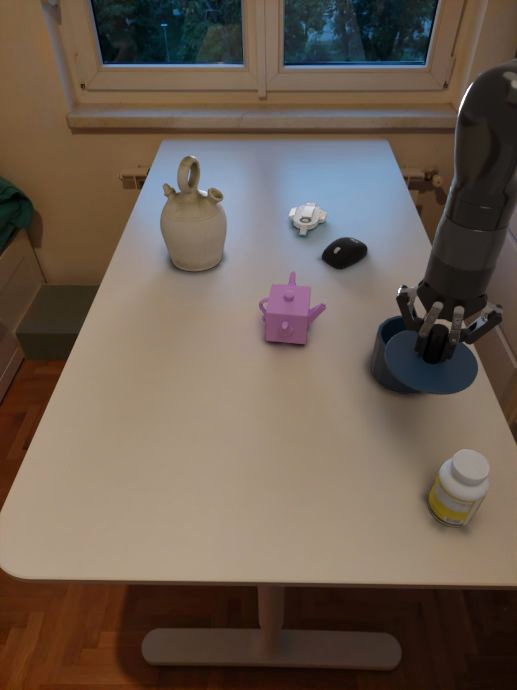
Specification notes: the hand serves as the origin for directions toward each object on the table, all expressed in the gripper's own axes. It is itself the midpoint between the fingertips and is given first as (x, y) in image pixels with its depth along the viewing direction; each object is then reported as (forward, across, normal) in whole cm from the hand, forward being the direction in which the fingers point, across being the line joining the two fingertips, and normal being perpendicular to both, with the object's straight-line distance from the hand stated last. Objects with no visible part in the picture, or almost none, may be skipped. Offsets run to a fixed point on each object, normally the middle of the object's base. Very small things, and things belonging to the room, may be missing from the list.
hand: (432, 355), depth 71 cm
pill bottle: (+19, +8, -11) cm, 23 cm away
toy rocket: (+19, -36, +62) cm, 74 cm away
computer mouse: (+19, -22, +49) cm, 57 cm away
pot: (+19, -3, +15) cm, 24 cm away
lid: (+1, 0, 0) cm, 1 cm away
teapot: (+19, -26, +18) cm, 37 cm away
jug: (+19, -56, +36) cm, 69 cm away
